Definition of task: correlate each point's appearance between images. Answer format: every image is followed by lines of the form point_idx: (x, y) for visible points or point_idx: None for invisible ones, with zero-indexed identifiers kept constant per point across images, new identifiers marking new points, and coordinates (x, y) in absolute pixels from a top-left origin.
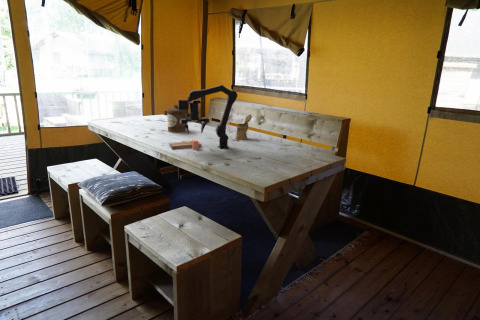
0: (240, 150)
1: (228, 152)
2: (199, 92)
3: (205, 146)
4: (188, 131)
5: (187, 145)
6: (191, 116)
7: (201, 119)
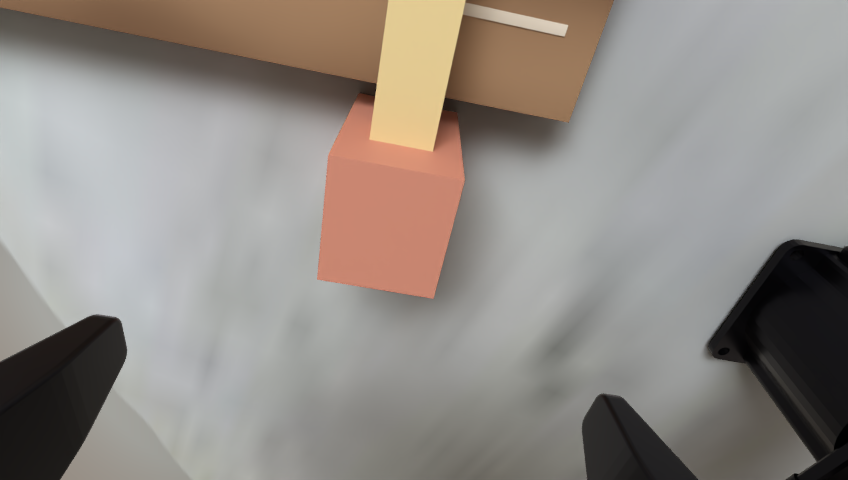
0: None
1: None
2: None
3: (642, 113)
4: (54, 471)
5: (260, 56)
6: None
7: None
